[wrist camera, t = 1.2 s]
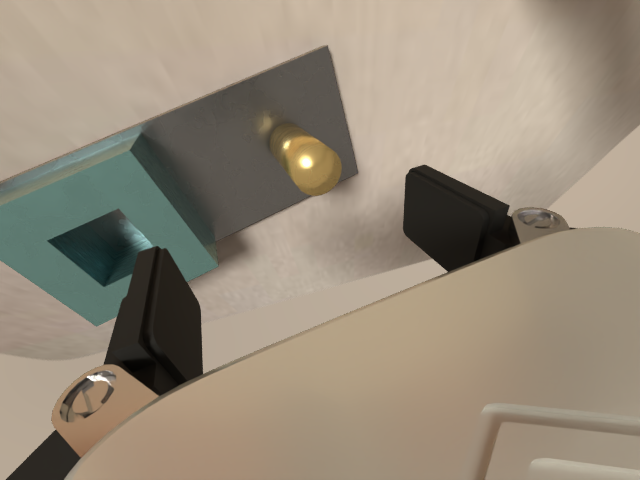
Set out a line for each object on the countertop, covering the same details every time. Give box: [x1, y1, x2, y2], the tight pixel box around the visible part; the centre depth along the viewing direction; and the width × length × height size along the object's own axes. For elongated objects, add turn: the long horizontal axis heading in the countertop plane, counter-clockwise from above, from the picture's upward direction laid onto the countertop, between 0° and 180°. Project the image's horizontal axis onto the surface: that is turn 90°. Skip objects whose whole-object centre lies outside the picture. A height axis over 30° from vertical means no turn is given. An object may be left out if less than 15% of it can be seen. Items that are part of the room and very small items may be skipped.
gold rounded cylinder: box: [269, 123, 342, 196], centre depth 23 cm, size 4×4×8 cm
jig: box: [0, 45, 358, 326], centre depth 24 cm, size 28×12×6 cm, turn 108°
